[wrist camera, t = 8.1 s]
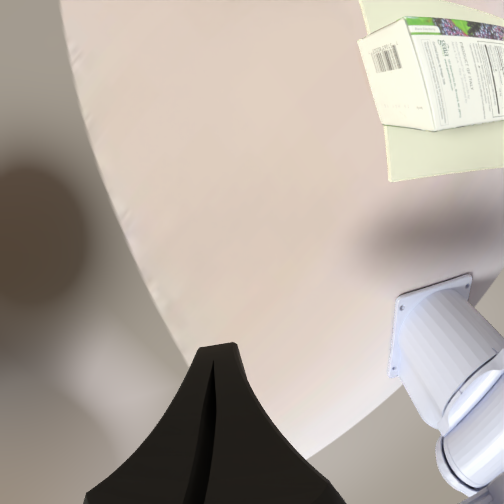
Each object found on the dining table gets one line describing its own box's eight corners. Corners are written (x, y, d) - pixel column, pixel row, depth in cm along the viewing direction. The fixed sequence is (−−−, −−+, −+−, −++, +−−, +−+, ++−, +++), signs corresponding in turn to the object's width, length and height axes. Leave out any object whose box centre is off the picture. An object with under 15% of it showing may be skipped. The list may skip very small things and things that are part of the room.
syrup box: (353, 38, 14) (501, 38, 14) (380, 130, 17) (517, 107, 16) (401, 15, 9) (552, 35, 8) (434, 139, 12) (567, 115, 11)
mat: (527, 163, 19) (530, 164, 18) (388, 180, 19) (391, 182, 18) (511, 23, 13) (514, 23, 13) (355, -11, 13) (358, -13, 13)
